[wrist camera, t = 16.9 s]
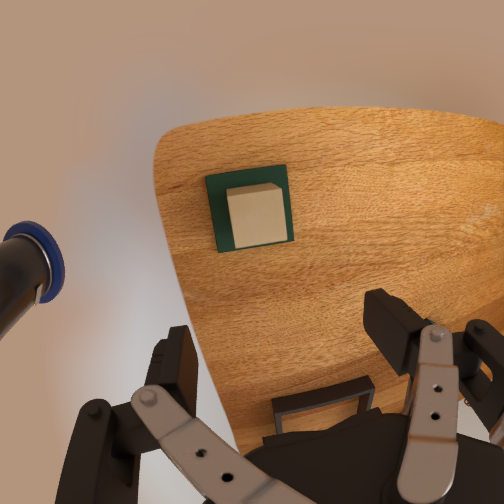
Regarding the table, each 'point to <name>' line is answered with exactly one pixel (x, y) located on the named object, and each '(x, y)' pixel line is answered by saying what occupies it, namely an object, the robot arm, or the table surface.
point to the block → (257, 214)
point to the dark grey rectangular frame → (325, 398)
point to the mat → (242, 178)
